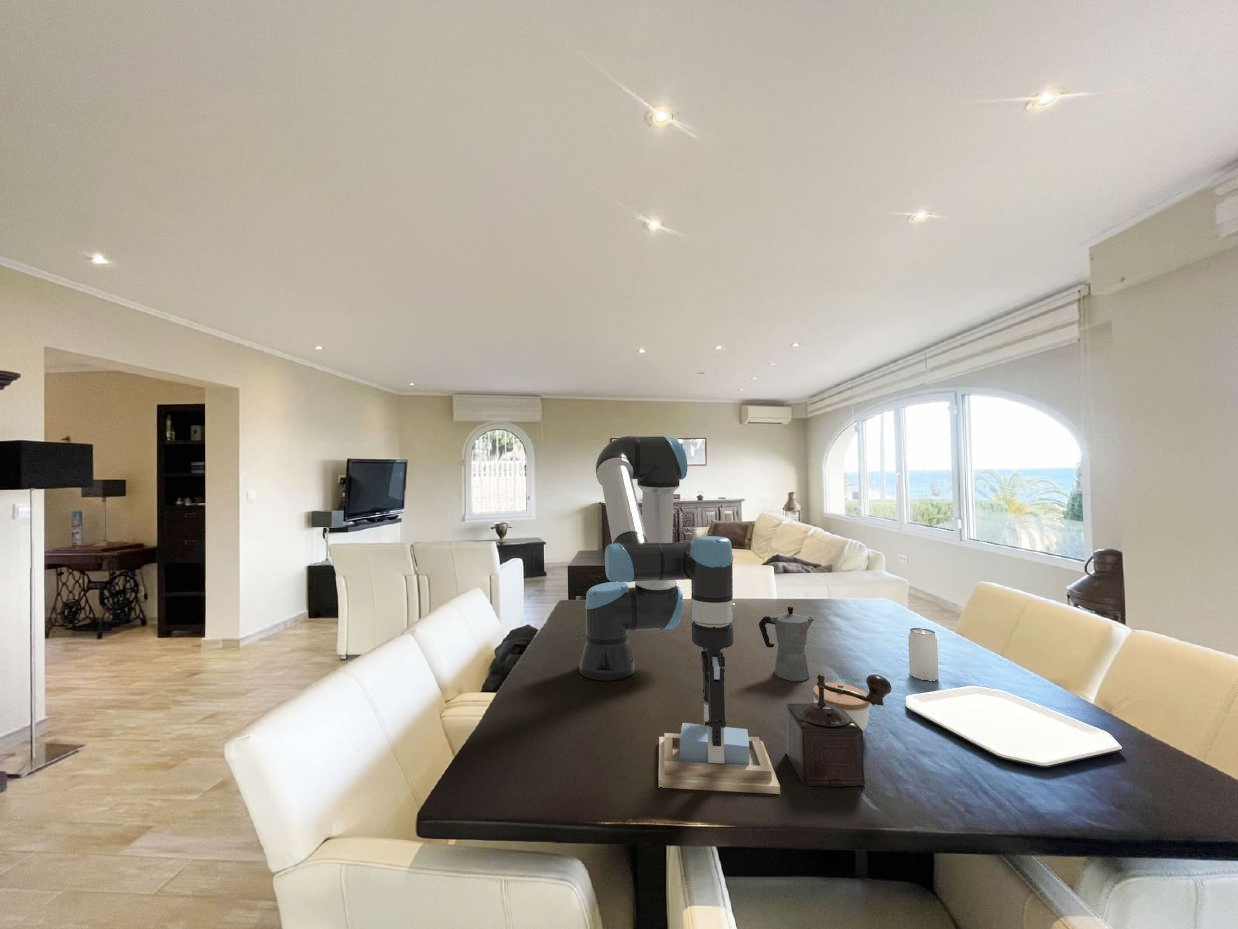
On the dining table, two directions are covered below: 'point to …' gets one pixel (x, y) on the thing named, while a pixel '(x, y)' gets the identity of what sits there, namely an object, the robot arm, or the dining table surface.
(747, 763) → the blue block
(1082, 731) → the plate
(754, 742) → the slot holder
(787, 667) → the coffeepot
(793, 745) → the coffee grinder
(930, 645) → the can
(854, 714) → the lidded jar
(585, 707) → the dining table surface
